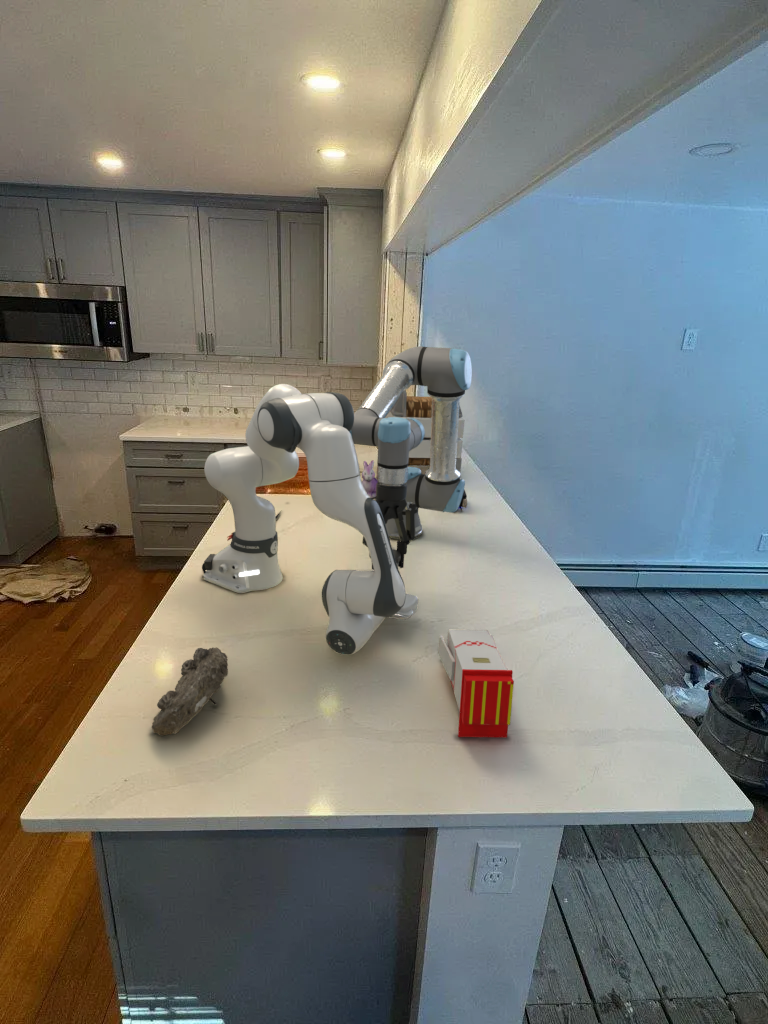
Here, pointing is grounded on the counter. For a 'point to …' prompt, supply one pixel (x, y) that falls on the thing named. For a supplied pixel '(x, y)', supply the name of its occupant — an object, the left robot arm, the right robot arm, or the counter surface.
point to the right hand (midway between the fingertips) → (387, 567)
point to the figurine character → (463, 501)
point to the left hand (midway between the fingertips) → (387, 586)
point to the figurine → (369, 479)
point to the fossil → (191, 690)
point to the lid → (397, 555)
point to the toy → (478, 682)
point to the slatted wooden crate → (422, 412)
